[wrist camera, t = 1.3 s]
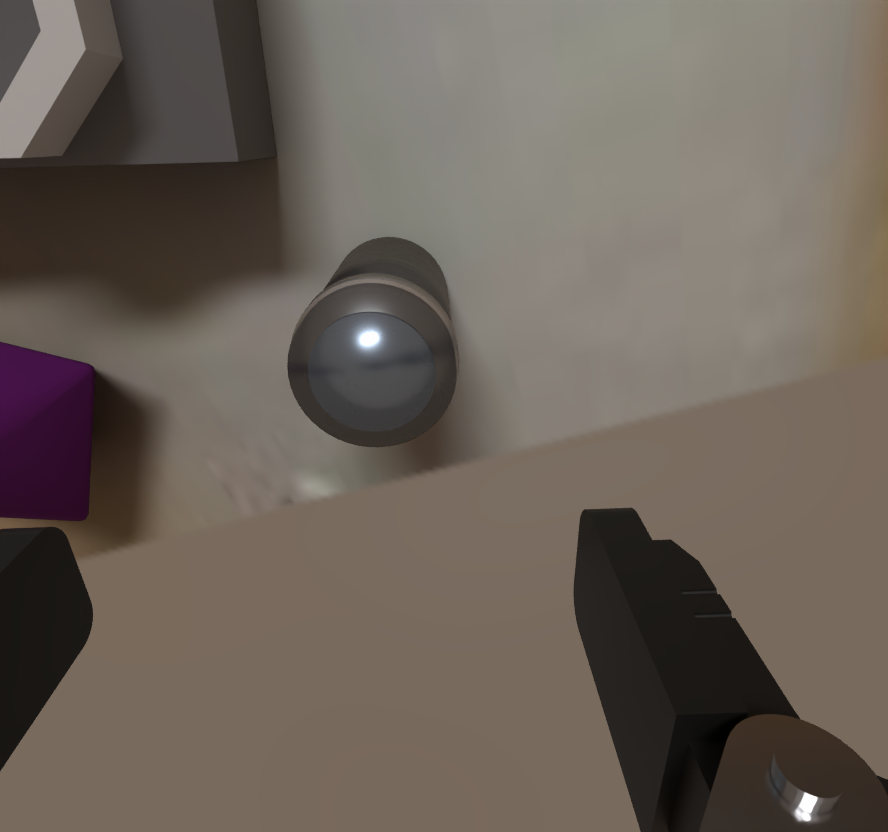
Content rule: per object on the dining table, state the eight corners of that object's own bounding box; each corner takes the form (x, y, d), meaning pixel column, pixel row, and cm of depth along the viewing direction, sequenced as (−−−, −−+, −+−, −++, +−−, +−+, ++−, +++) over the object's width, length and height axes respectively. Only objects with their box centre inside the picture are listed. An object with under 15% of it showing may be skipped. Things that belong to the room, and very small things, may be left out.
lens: (448, 232, 24) (459, 284, 16) (451, 349, 26) (461, 449, 18) (325, 236, 24) (270, 289, 15) (337, 353, 26) (295, 455, 18)
